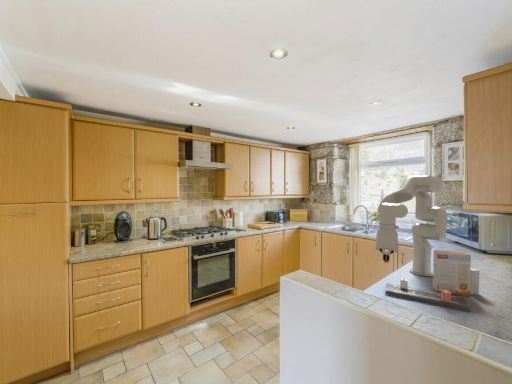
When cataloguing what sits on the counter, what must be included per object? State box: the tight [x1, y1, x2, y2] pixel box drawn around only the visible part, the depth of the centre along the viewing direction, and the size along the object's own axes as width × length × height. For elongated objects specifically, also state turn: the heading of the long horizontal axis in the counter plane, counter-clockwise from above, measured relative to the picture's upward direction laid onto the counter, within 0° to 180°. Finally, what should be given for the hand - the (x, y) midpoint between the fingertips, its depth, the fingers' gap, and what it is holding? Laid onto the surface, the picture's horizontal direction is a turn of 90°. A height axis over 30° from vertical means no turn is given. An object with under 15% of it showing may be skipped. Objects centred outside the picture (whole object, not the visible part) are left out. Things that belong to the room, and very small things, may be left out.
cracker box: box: [432, 249, 472, 297], centre depth 122 cm, size 14×6×21 cm, turn 71°
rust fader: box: [441, 289, 452, 303], centre depth 108 cm, size 4×3×4 cm
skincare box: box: [470, 267, 480, 295], centre depth 124 cm, size 6×4×12 cm
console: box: [385, 283, 471, 313], centre depth 115 cm, size 11×32×2 cm, turn 60°
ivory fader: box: [399, 277, 409, 289], centre depth 122 cm, size 4×3×4 cm
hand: (386, 261), depth 126 cm, fingers closed
